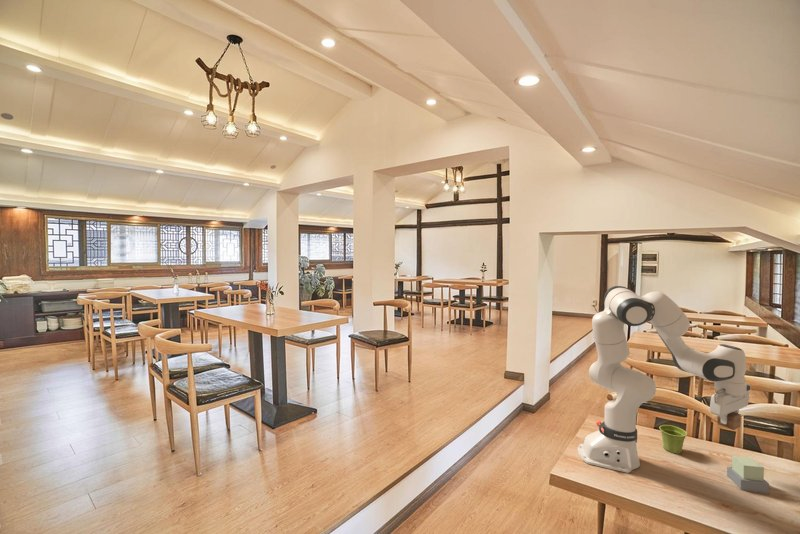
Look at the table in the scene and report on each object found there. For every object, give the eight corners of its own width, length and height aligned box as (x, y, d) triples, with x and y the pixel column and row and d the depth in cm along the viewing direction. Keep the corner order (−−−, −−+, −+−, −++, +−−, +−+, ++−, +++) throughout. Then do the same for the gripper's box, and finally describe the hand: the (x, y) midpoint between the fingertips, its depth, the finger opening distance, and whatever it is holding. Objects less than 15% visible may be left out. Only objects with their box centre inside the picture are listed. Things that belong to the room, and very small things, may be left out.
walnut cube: (717, 424, 138) (717, 411, 138) (724, 421, 141) (724, 409, 140) (733, 430, 134) (734, 417, 134) (740, 426, 136) (740, 414, 136)
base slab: (740, 490, 127) (741, 479, 127) (726, 476, 134) (727, 466, 134) (768, 494, 125) (768, 483, 124) (752, 480, 132) (753, 469, 132)
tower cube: (743, 478, 127) (743, 465, 127) (731, 468, 133) (732, 455, 133) (763, 480, 126) (764, 467, 125) (751, 470, 132) (751, 457, 131)
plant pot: (691, 457, 147) (692, 436, 146) (666, 455, 148) (666, 435, 148) (678, 444, 156) (679, 425, 155) (654, 442, 158) (655, 424, 157)
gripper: (725, 394, 129) (724, 431, 130) (753, 384, 138) (752, 419, 138) (704, 388, 135) (704, 423, 136) (732, 379, 143) (732, 412, 144)
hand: (728, 421), depth 137 cm, fingers closed on walnut cube, 5 cm apart
